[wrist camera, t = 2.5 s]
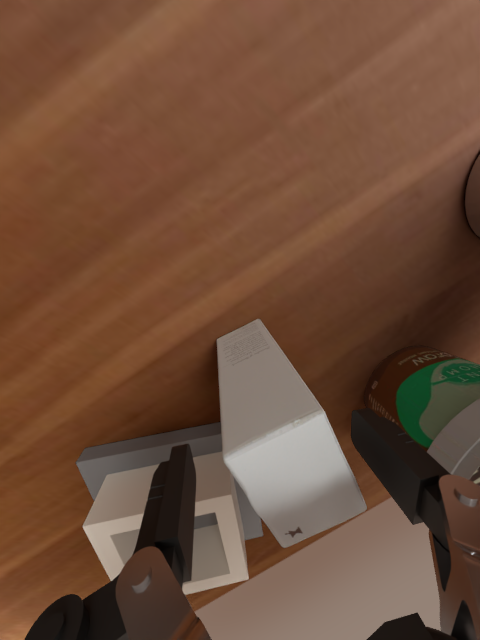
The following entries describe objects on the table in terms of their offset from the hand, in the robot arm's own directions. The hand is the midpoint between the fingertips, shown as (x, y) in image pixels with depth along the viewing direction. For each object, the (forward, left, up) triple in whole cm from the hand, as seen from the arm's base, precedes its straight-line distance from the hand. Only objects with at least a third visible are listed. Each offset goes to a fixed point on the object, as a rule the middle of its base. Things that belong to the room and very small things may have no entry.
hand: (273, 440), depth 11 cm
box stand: (+9, +14, -10) cm, 19 cm away
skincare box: (0, 0, -10) cm, 10 cm away
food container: (-15, +4, -10) cm, 19 cm away
